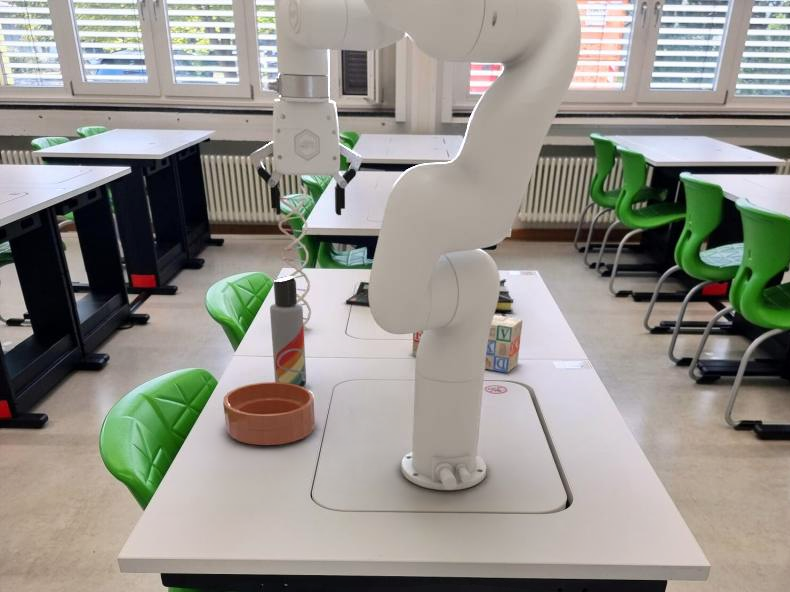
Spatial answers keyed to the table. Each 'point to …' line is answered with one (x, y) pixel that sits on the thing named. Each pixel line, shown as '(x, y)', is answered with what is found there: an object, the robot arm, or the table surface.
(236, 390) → the bowl
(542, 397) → the table surface
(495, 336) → the stack of blocks
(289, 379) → the lotion bottle
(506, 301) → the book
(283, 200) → the dna model
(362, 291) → the calculator
